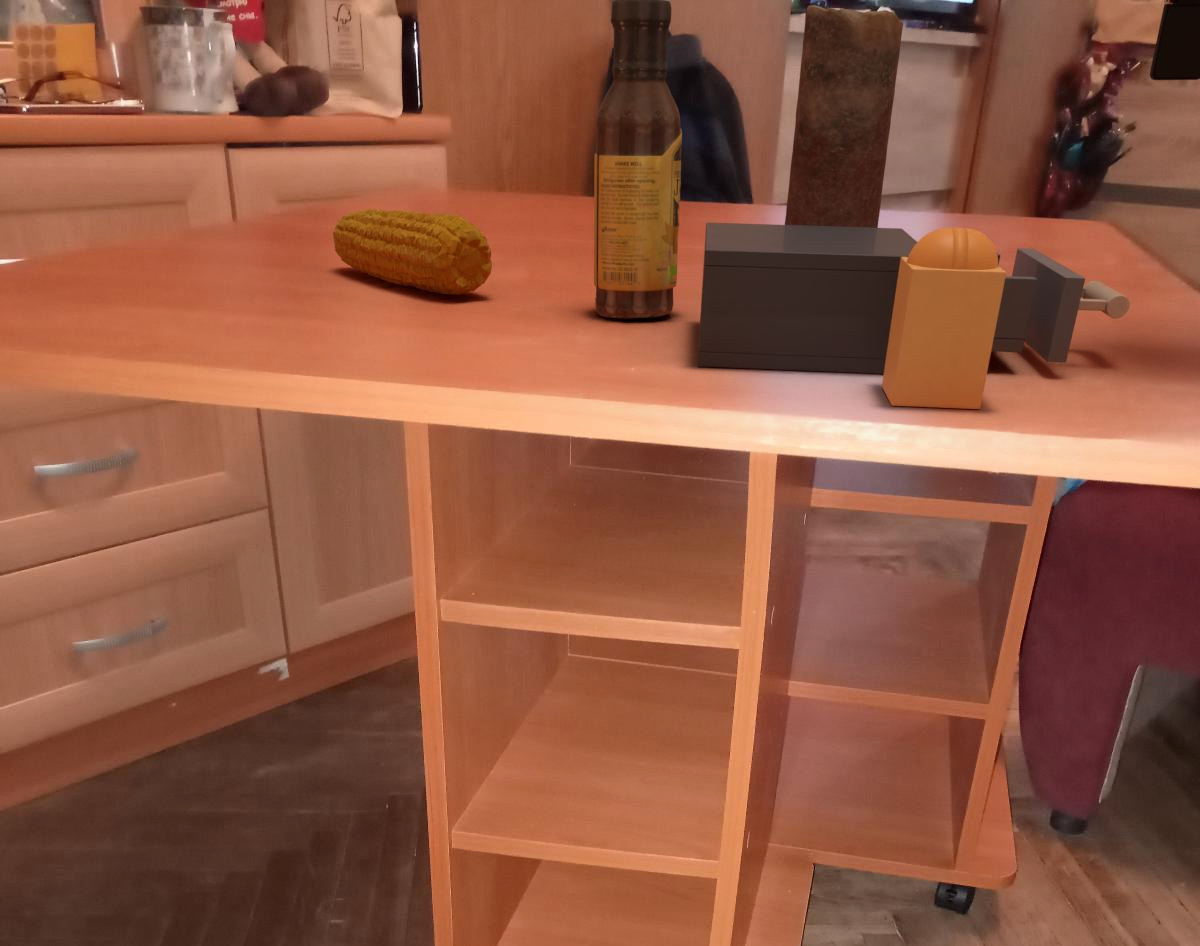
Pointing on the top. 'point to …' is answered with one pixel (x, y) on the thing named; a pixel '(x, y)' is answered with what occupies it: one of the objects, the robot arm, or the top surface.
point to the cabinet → (799, 296)
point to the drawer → (1048, 306)
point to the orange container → (943, 321)
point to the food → (415, 249)
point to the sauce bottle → (637, 170)
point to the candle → (843, 117)
